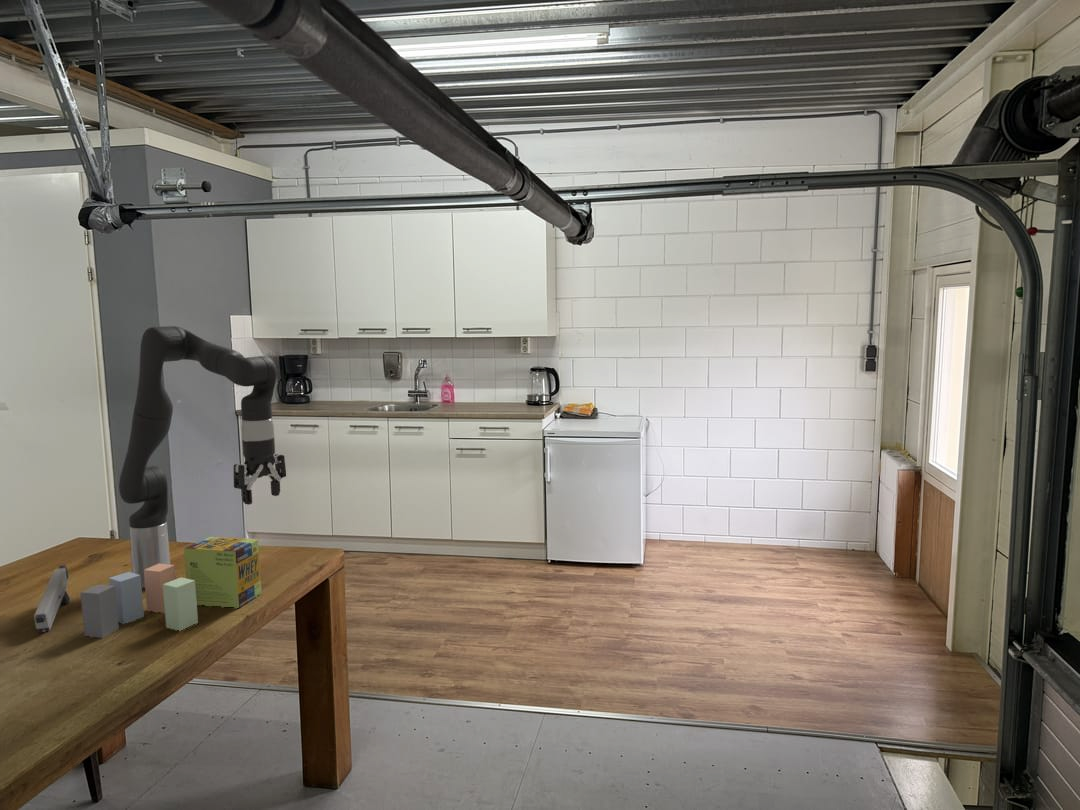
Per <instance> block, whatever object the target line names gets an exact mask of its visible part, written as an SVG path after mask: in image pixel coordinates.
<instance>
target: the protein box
mask: <svg viewBox="0 0 1080 810" xmlns="http://www.w3.org/2000/svg"><path fill="white" fill-rule="evenodd" d="M259 551H260V550H259V539H257V538H239V537H219V536H208V537H206V538H205V539H202V540H200V541H197V542H195V543H193V544H191V545H188V546H186V547H185V548H183V553H184V567H185V578H186V579H191V580H195V589H196V602H197V606H201V605H205V606H204V607H212V606H221V607H220V608H224V607H234V608H233V609H237V608H239V607H240V608H241V606H242V605H243V606H245V605H246V604H248V603H249V601H250V600H251V601H253V600H254V599H255V597H256V598H257V597H259V596H260V595H262V580H261V566H260V565H261V564H260V552H259ZM258 595H259V596H258ZM252 599H253V600H252ZM251 601H250V602H251ZM247 602H248V603H247ZM245 603H246V604H245ZM244 604H245V605H244ZM243 606H242V607H243ZM240 608H239V609H240Z"/></svg>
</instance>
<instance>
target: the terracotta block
mask: <svg viewBox="0 0 1080 810" xmlns="http://www.w3.org/2000/svg"><path fill="white" fill-rule="evenodd" d="M144 579H145V588H144V589H145V590H144V591H145V600H146V602H145V603H146V611H147V612H150V611H153V612H152V613H158V612H161V613H160V614H164V613H165V607H164V594H163V584H165V583H167V582H170V581H173V580H175V579H177V577H176V565H175V564H170V565H169V564H160V563H159V564H157V565H154V566H152V567H150V568H147V569H145V570H144ZM163 612H164V613H163Z"/></svg>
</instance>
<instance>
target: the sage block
mask: <svg viewBox="0 0 1080 810" xmlns="http://www.w3.org/2000/svg"><path fill="white" fill-rule="evenodd" d="M163 594H164V607H165V612H164V615H165V616H164V618H165V627H166V629H169V628H170V630H173V629H174V631H177V630H179V631H178V632H182V631H184V630H186V629H185V628H187V627H189V626H191V625H193V624H195V625H197V624H196V623H198V624H199V617H198V616H199V615H198V605H197V602H196V589H195V580H191V579H186V577H178V578H176V579H175V580H173V581H170V582H167V583H165V584H163ZM193 626H194V625H193ZM191 627H192V626H191ZM189 628H190V627H189ZM183 629H184V630H183ZM187 629H188V628H187ZM181 630H182V631H181Z"/></svg>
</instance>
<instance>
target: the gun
mask: <svg viewBox="0 0 1080 810" xmlns="http://www.w3.org/2000/svg"><path fill="white" fill-rule="evenodd" d="M68 579H69V571H68V567H67V566H66V565H65V564H63V565H59V566H58V568H55V569H54V570H53V571H52V574H51V575H50V578H49V581H47V585H46V587H45V589H44V592H43V594H42V596H41V599H40V601H39V603H38V605H37V608H36V610H35V613H34V615H33V619H34V624H35V629H36V630H38V633H39V632H44V633H47V632H46V631H49V632H50V631H51V628H52V626H53V623H54V622H55V619H56V616H57V613H58V611H59V608H60V606H63V605H68V604H69V603H70V600H71V598H70V596H69V594H68V591H66V590H67V589H68V585H69V582H68Z"/></svg>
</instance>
